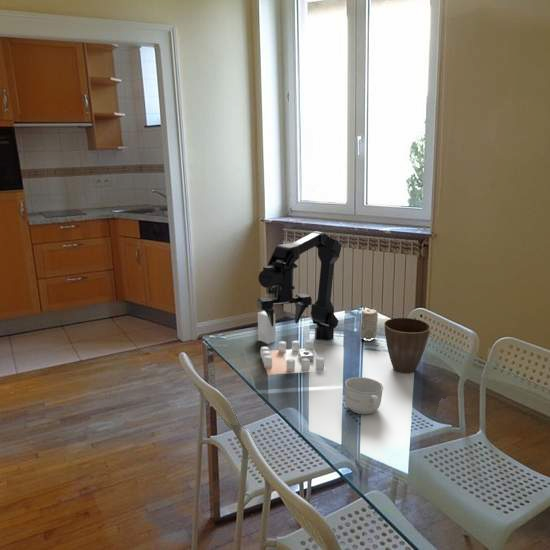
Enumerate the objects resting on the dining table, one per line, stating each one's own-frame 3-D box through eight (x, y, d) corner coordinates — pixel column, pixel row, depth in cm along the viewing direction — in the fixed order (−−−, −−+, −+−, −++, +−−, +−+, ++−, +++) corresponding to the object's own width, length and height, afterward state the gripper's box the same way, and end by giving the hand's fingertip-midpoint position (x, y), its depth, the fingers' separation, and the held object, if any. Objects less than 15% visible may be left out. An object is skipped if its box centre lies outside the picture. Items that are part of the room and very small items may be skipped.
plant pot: (394, 380, 167) (397, 334, 163) (373, 362, 181) (376, 319, 177) (435, 375, 171) (439, 330, 167) (411, 358, 185) (415, 316, 181)
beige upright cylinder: (357, 341, 200) (359, 312, 197) (362, 335, 207) (363, 306, 204) (373, 344, 197) (375, 314, 194) (377, 337, 204) (379, 308, 201)
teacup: (340, 400, 153) (341, 376, 151) (375, 399, 154) (377, 375, 152) (350, 425, 140) (352, 398, 138) (389, 424, 141) (391, 397, 139)
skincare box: (276, 343, 197) (276, 313, 194) (267, 346, 194) (267, 316, 191) (266, 339, 201) (266, 309, 198) (257, 341, 199) (257, 311, 196)
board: (313, 350, 191) (313, 339, 189) (327, 373, 171) (327, 361, 170) (258, 353, 187) (258, 341, 186) (266, 377, 168) (266, 364, 167)
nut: (310, 356, 182) (310, 350, 182) (313, 361, 178) (313, 355, 178) (298, 357, 182) (298, 350, 181) (301, 362, 177) (301, 355, 177)
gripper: (300, 274, 187) (299, 315, 191) (251, 278, 181) (251, 320, 185) (313, 281, 177) (312, 324, 181) (262, 286, 171) (262, 330, 174)
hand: (284, 324), depth 180 cm, fingers open, 9 cm apart
